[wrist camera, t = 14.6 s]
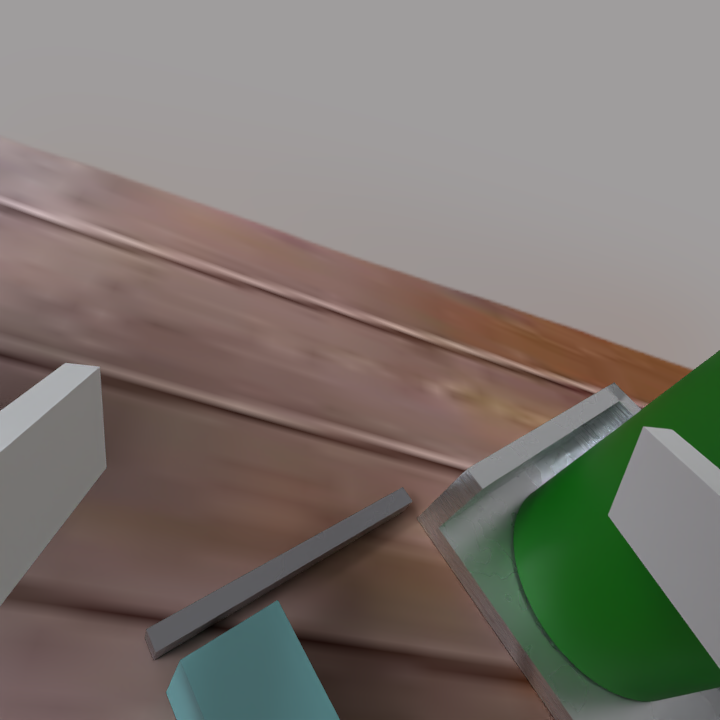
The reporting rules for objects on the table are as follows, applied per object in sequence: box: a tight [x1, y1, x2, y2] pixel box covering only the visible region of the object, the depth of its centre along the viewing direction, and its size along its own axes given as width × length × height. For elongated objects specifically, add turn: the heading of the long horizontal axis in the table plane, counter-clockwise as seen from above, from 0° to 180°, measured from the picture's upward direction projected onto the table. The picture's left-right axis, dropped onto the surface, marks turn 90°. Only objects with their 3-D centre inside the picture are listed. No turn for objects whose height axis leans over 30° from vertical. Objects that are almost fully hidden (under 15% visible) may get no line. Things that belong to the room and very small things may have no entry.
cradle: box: [417, 383, 720, 720], centre depth 24 cm, size 15×14×5 cm
